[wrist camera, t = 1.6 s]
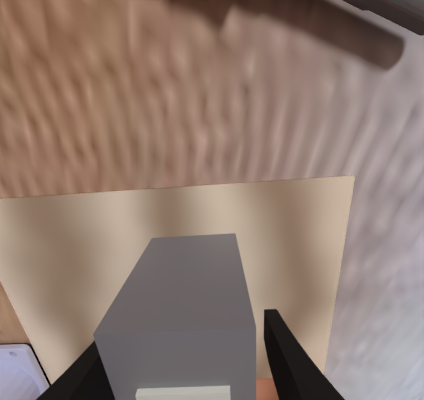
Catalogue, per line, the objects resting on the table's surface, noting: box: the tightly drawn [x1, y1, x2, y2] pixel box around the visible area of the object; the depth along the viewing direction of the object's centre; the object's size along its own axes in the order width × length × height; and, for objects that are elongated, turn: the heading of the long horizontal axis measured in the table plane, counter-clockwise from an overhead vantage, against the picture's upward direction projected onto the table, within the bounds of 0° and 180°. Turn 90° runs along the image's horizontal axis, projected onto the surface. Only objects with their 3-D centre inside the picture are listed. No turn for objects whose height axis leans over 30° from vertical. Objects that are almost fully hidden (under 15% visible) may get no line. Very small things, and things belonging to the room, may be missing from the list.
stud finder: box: [93, 233, 256, 400], centre depth 10 cm, size 5×8×6 cm, turn 4°
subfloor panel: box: [0, 176, 355, 400], centre depth 14 cm, size 22×24×1 cm
